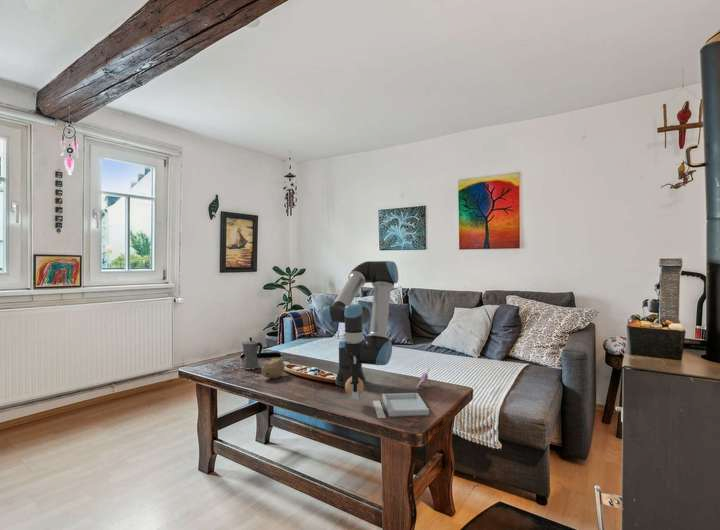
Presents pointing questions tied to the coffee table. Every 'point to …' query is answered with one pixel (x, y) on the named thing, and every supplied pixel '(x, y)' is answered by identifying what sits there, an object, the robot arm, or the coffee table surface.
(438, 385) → the coffee table surface
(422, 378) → the lily
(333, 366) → the coffee table surface
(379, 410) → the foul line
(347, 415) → the coffee table surface
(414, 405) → the tray
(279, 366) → the low-poly potato
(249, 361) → the coffeepot
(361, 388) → the ball
